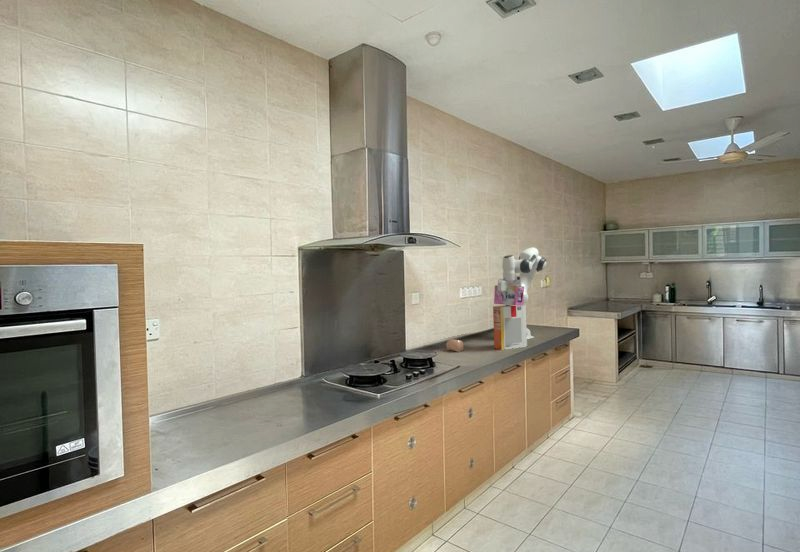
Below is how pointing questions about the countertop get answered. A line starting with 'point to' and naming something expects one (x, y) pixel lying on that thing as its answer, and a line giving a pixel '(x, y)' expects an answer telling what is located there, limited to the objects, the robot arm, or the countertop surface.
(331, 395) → the countertop surface
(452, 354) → the countertop surface
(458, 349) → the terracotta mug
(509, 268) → the robot arm
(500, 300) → the pink purple package
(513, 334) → the pasta box
